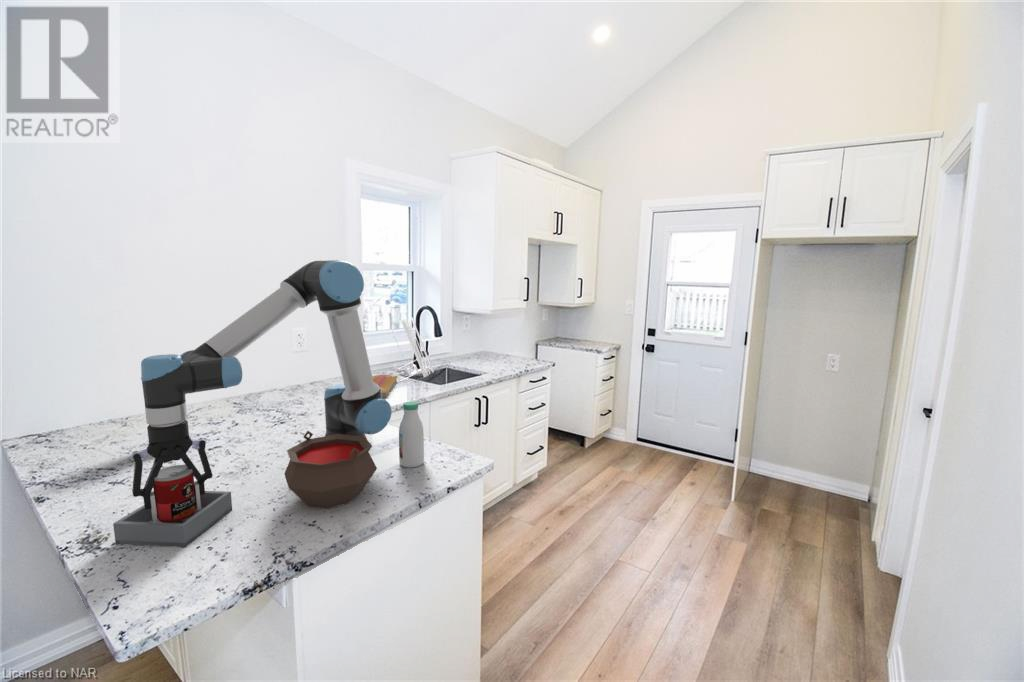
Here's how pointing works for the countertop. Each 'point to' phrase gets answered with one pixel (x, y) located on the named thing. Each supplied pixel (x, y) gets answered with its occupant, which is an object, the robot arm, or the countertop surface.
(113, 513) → the countertop surface
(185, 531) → the bin
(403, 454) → the milk bottle
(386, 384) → the orange triangular wedge
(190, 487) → the canned food
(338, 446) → the brown cooking pot
